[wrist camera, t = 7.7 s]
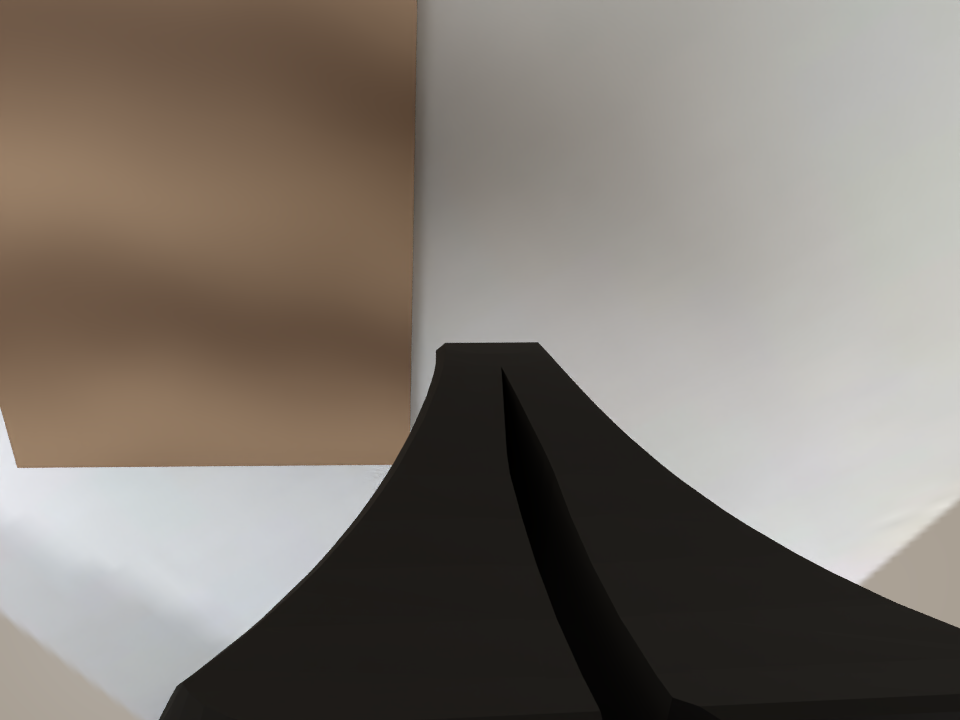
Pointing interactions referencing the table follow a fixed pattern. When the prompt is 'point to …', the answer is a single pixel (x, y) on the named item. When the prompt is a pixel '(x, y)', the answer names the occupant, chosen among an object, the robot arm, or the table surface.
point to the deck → (206, 231)
